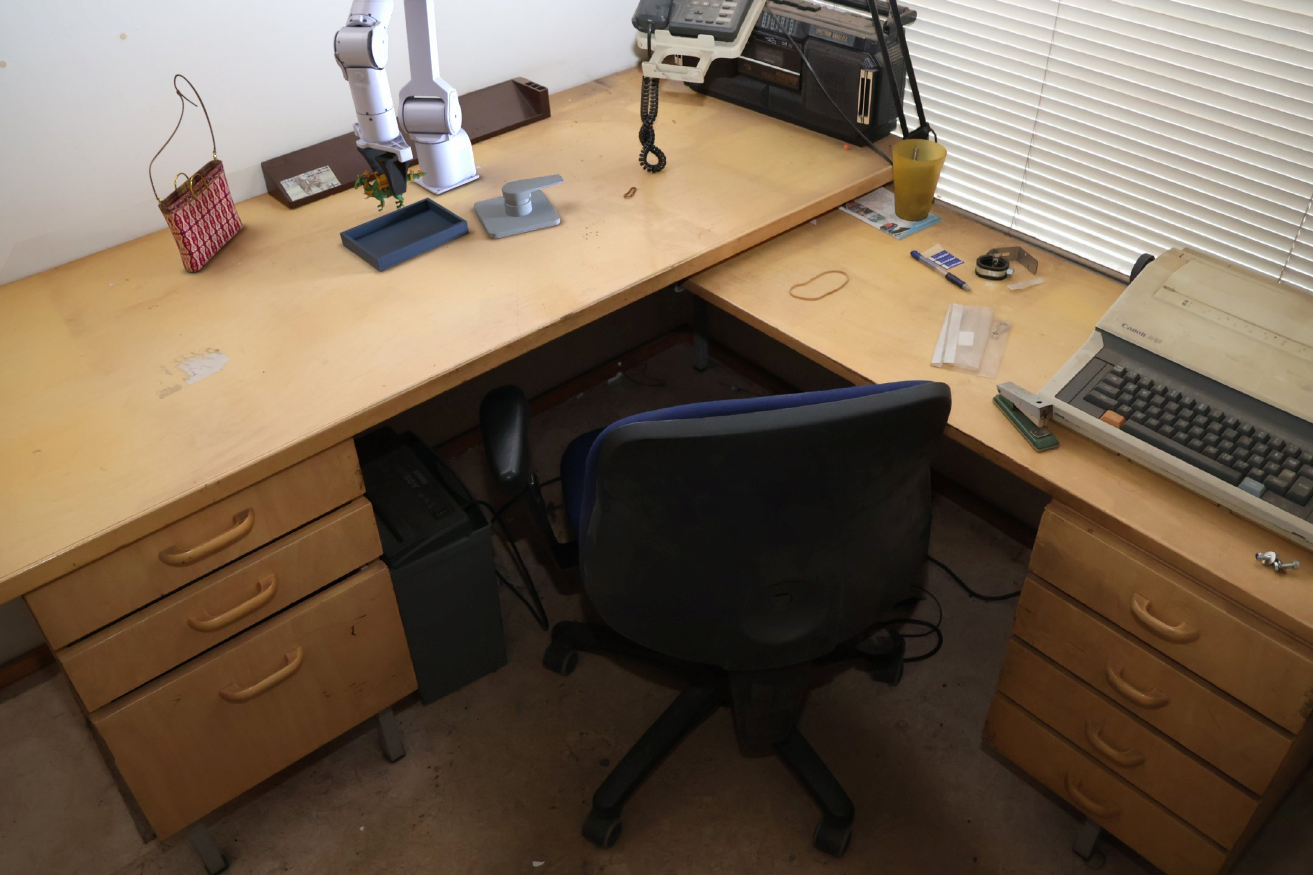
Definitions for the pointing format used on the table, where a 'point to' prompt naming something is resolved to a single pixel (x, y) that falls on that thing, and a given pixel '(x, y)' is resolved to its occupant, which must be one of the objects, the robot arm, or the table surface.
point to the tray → (404, 233)
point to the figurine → (383, 187)
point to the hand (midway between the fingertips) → (393, 189)
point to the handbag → (200, 208)
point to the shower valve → (519, 208)
